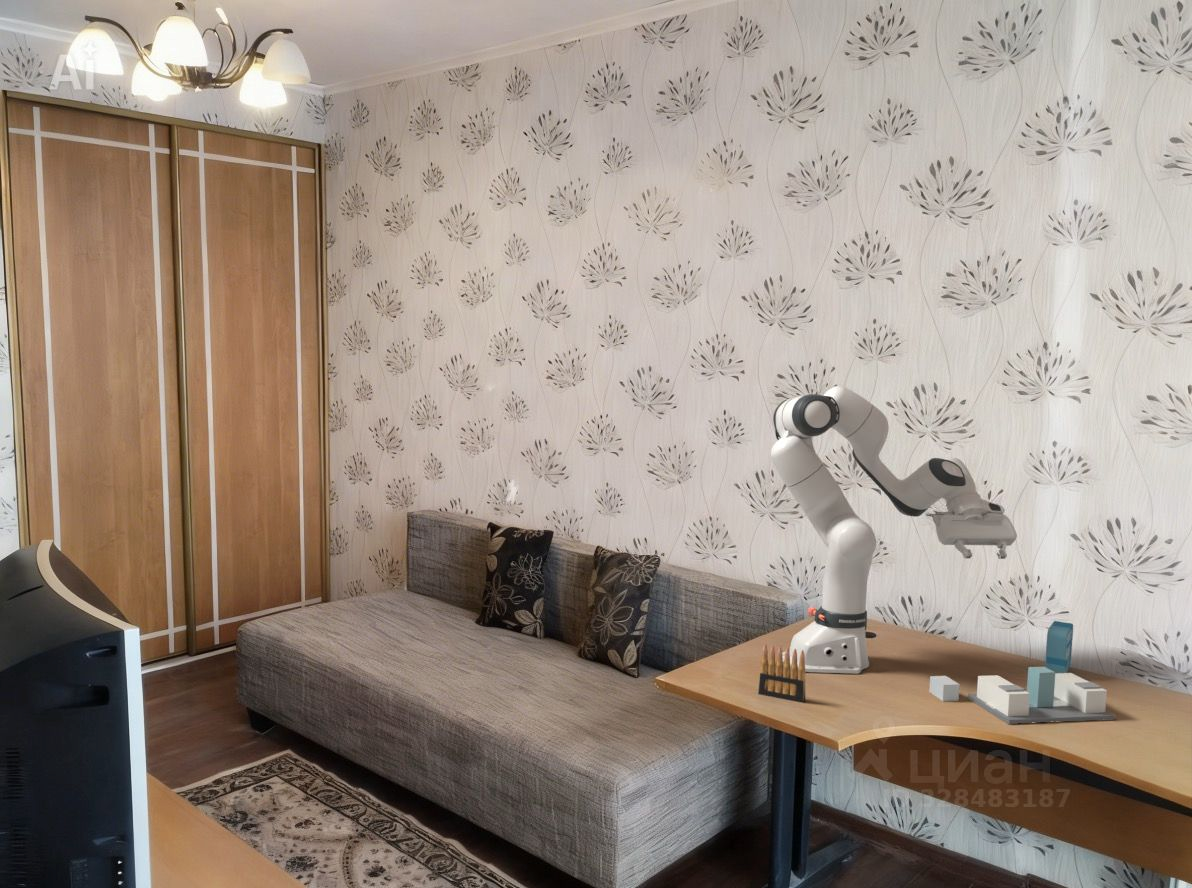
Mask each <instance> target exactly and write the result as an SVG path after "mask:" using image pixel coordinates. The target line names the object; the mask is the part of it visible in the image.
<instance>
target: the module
mask: <svg viewBox="0 0 1192 888" xmlns="http://www.w3.org/2000/svg"><path fill="white" fill-rule="evenodd" d="M1027 669H1028V670H1027V683H1026V692H1028V693H1030V699H1029V703H1030V704H1032V705H1034V706H1036V707H1053V701H1054V687H1055V673H1056V672H1054V671H1052V670H1050V669H1048V668H1046V667H1045V666H1028V668H1027Z"/></svg>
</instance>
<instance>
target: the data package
mask: <svg viewBox="0 0 1192 888" xmlns="http://www.w3.org/2000/svg"><path fill="white" fill-rule="evenodd" d="M1073 635H1074V624H1073V623H1070V622H1065V621H1057V620H1054V621H1052V623H1051V625H1050V626H1049V628H1048V629H1047V633H1046V646H1045V660H1044V661H1045V662H1044V667H1046V668H1048V669H1050V670H1052V671H1054V672H1056V673H1069V670H1070V668H1071V664H1072V663H1071V662H1072V651H1073V650H1072V649H1073V637H1074V636H1073Z"/></svg>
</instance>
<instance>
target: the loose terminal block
mask: <svg viewBox="0 0 1192 888" xmlns="http://www.w3.org/2000/svg"><path fill="white" fill-rule="evenodd" d="M928 691H929V693H930V694H931V693H932V695H933V696H935V697H936V698H938V699H939V700H941V702H949V701H950V702H955V701H959V699H960V697H959V696H960V683H958V682H957V681H955V680H954V679H951V678H950V677H949V676H946V675H933V676H932V675H930V676H929V690H928Z"/></svg>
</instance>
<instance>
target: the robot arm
mask: <svg viewBox="0 0 1192 888" xmlns="http://www.w3.org/2000/svg"><path fill="white" fill-rule="evenodd" d="M772 417H773V418H772V420H773V421H772V422H773V426H774V430H775V431H774V432H775V433H774V434H775V438H776V440H777V441H776V442H775V443H774V444H773V446H772V447H771V450H770V458H771V460H772V462H773V465H774V467H775V469H776V470H777V473H778V475H779V477H780V478H781V480H782V481H783V483H784V484H785V486H786V487H787V489H788V490H789V492H790V493H791V495H792V496H793V497H794V499H795V500H796V502H797V504H798V505H799V507H800V508H801V509H802V510H803V512H804V513H805V515H806V517H807V518H808V520H809V522H810V523H811V525H812V527H813V528H814V530H815V531H816V533H817V535H818V536H819V537H820V539H821V540H822V541H823V543H824V544H825V546H826V547H827V548H828V557H827V558H828V559H827V562H826V567H825V572H824V574H823V576H822V593H821V594H822V595H821V597H822V598H821V606H820V607H819V608H818V609H816V608H814V607H813V606H809V608H808V609H807V613H808V614H809V615H811V616H812V617H814V620H813V621H812V622H811V623H809V624H808V625H806V626H805V627H803V628H802V629H801V630H800V631H798V632H797V633H795V634H794V635H793V636H792V639H791V641H790V647H789V652H790V668H791V664H792V655H793V651H794V649H796V651H797V665H798V667H799V661H800V654H801V651H802V650H803V651H804V655H805V673H824V674H825V673H827V674H834V673H835V674H861V672H862V670H864V669H865V670H866V669H867V668H869V667H870V661H869V657H868V651H867V644H866V630H867V627H868V610H866V609H867V608H866V605H867V593H868V592H867V590H868V580H869V579H868V578H869V574H870V570H871V566H872V561H873V555H874V553H875V550H876V548H877V538H876V535H875V532H874V531H873V528H872V526H871V525H870V524H868V523H867V522H866V521H864V520H863V519H862V518H860V516H858V515H857V513H856V512H855V511H854V509H853V508H852V506H851V504H850V502H849V501H848V500H847V497H846V496H845V494H844V492H843V489H842V488H841V487H840V485H839V484H838V482H837V481H836V479H835V478H834V476H833V475H832V474H831V472H830V470H829V469H828V467H827V466H826V465H825V464H824V462H823V461H822V459H821V458H820V456H819V455H818V454H817V453H816V450H815V447H814V444H813V443H814V442H813V437H817V436H818V437H819V436H821V435H823V434H825V433H826V432H828V430H830V429H832V430H835V431H837V433H838V434H839V435H841V436H842V437H844V438H845V439H846V440H847V441H848V443H849V444H851V445H850V446H851V447H852V449H851V450H852V452H851V453H852V457H853V459H854V460H855V462H856V463H857V465H858V466H859V467H860V468H861V469H862V470H863V472H864V473H865V474H866V475H867V476H868V477H869V478H870V479H871V480H872V482H874V483H875V485H877V487H878V488H879V489H880V490H881V491H882V492H883V493H884V494H885V495H886V496H887V497H888V498H889V500H890V502H891V503H892V504H893V506H894V507H895V508H896V510H897V511H898V512H899V513H900V514H902V515H904V516H907V517H920V516H922V515H923V514H924V513H925V512H926V511H927V510H929V508H930V507H932V506H933V505H934V504H936V503H937V502H939V501H940V500H941V499H944V500H945V503H946V505H945V506H946V510H947V511H936V513H933V515H932V521H933V523H934V525H935V530H936V535H937V539H938V542H939V543H940V544H942V545H944V546H954V548H955V549H956V551H957V550H958V551H959V553H961V554H962V556H963V559H971V558H972V557H973V553H972V550H971V549H968V548H967V547H966V546H996V547H997V548H998V549H999V550H998V551H997V552H996V556H997V558H998V559H999V560H1001V559H1002V560H1006V558H1007V557H1008V555H1007V554H1008V553H1007V551H1006V550H1007V549H1006V548H1007V546H1009V547H1011V546H1012V545H1013V543H1014V542H1015V541H1016V540H1017V537H1018V536H1017V535H1018V534H1017V531H1016V529H1015V527H1014V525H1013V522H1012V521H1011V519H1010V518H1009V517H1008V516H1007V514H1004V513H1005V507H1004V506H1002V505H1001V504H998V503H993V502H991V501H988V500H985V499H983V498H982V497H981V495H980V494H979V492H978V491H977V488H976V482H975V481H974V479H973V476H972V475H971V472H970V471H969V469H968V468H967V466H966V464H965V463H964V462H963V461H962V460H961V459H959V458H957V457H952V456H950V457H949V456H948V457H945V458H944V457H943V458H939V457H933V458H930V459H929V460H927V461H926V462H924V463H923V464H922V465H921V466H919V467H918V468H917V469H916V470H915V471H913V472H912V473H911V474H910V475H908V476H907V477H906V478H903V479H900V478H897V476H896V475H895V474H893V472H892V471H891V470H890V469H889V468H888V467H887V466H886V465H885V463H883V462H882V460H881V459H880V456H879V455H880V454H881V451H882V450H883V448H884V446H885V443H886V441H887V438H888V436H889V435H888V434H889V431H890V429H889V421H888V418H887V416H886V415H885V414H884V413H883V412H882V411H881V410H880V409H879V408H878V407H876V406H875V405H874V404H873V403H871V402H870V401H868V400H867V399H866V398H865V397H863V396H861V395H859V394H858V393H856V392H854V391H853V390H851V389H848V388H847V387H845V386H842V385H841V386H840V385H836V386H833V387H831V388H829V389H828V390H826V391H825V392H824V394H823V395H822V394H815V393H814V394H813V393H811V394H806V395H801V394H800V395H796V396H793V397H790V398H788V399H785V400H783V401H782V402H780V403H779V404H778V405H777V407H776V408H775V410H774V412H773V416H772ZM785 652H786V651H782V655H783V657H782V658H783V663H784V659H785Z"/></svg>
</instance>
